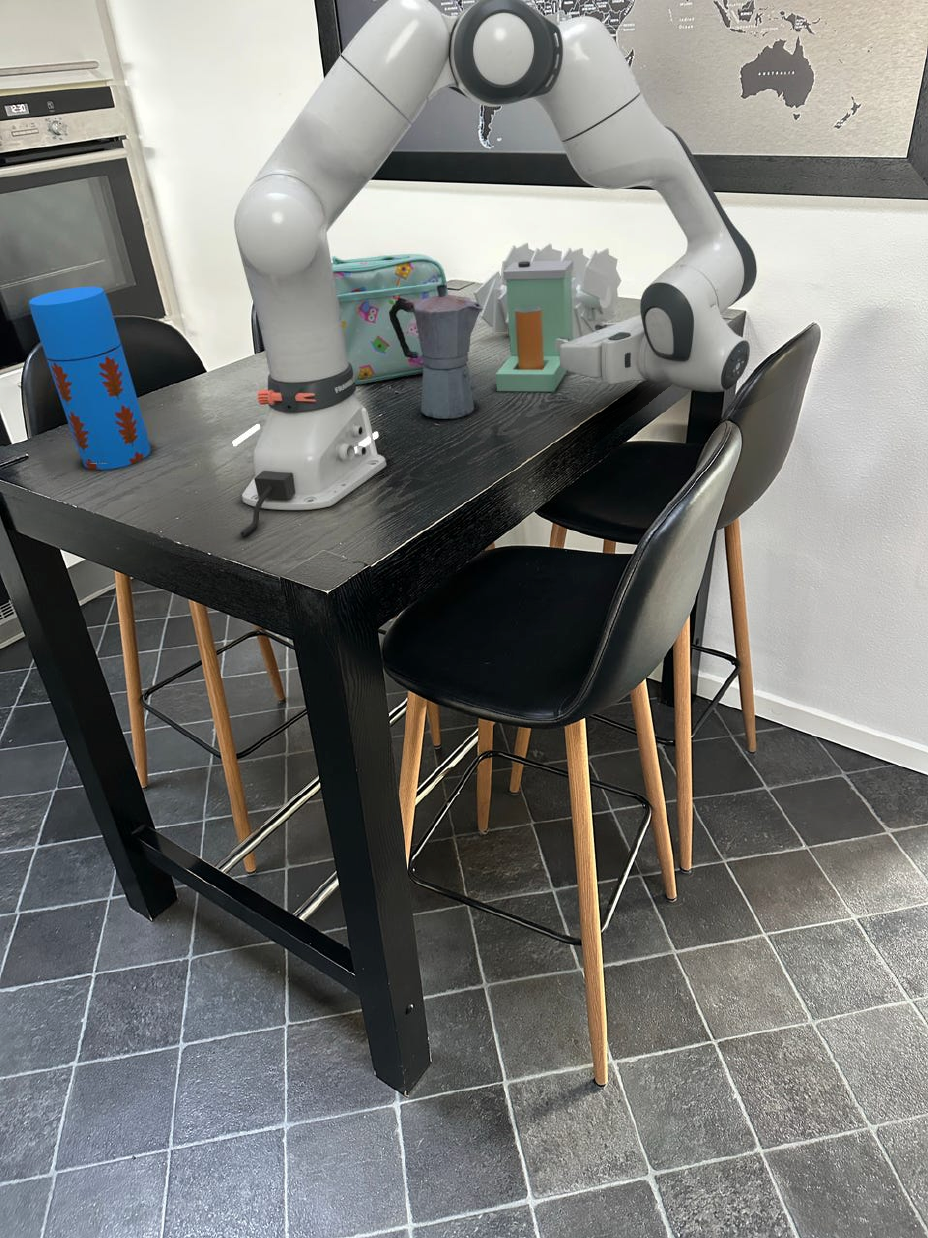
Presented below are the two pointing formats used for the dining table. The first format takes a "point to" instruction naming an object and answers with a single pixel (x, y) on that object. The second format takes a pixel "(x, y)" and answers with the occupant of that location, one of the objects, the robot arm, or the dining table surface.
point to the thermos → (91, 376)
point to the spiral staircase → (589, 287)
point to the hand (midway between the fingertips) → (578, 335)
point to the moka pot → (442, 350)
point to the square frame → (530, 376)
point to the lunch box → (383, 311)
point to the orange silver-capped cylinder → (529, 337)
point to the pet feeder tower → (541, 299)
